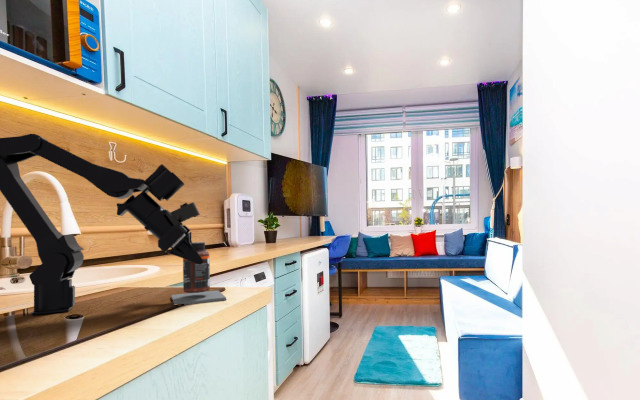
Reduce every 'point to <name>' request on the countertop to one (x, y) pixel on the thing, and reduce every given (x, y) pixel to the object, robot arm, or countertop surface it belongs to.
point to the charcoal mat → (198, 297)
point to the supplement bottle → (197, 271)
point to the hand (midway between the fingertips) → (202, 261)
